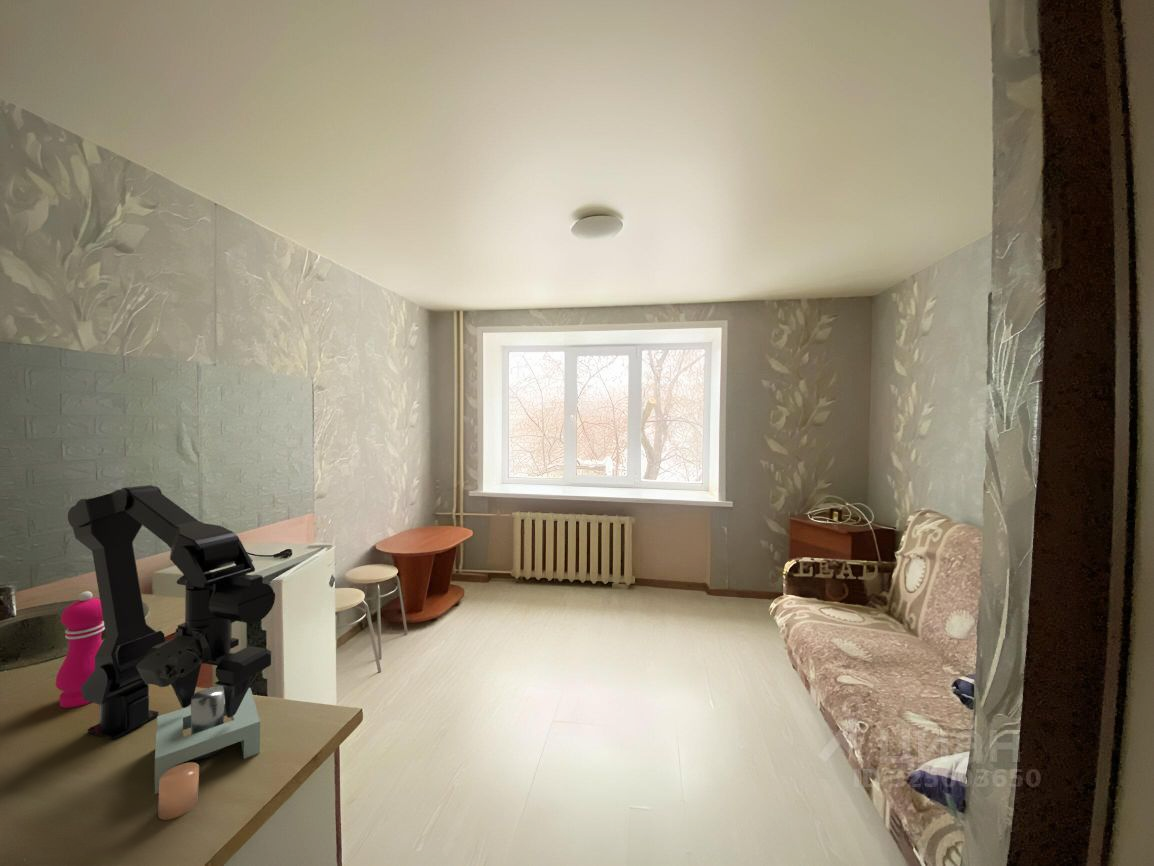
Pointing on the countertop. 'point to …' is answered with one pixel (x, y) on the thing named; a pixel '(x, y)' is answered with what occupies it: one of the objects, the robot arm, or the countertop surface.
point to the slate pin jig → (204, 736)
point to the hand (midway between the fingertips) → (208, 711)
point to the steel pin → (207, 712)
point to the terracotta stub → (178, 790)
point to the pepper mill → (79, 647)
